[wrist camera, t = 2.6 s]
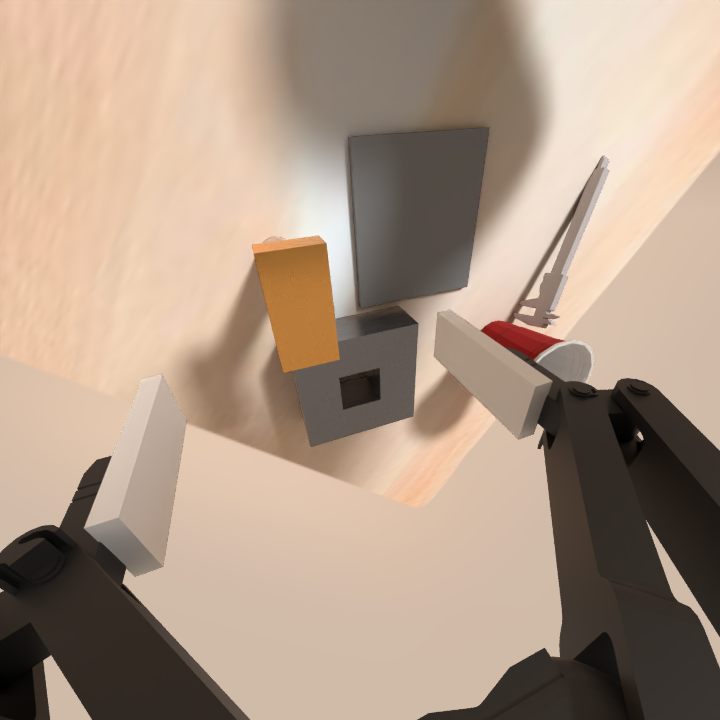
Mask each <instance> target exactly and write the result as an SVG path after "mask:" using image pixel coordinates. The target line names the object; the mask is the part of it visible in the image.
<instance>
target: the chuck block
mask: <svg viewBox="0 0 720 720" xmlns="http://www.w3.org/2000/svg"><path fill="white" fill-rule="evenodd" d="M335 322H336V331H337V339H338V348H339V357H340V360H336V361H332V362H328V363H324V364H319V365H315V366H311V367H307V368H303V369H298V370H294V371H293V375H294V380H295V384H296V388H297V393H298V397H299V402H300V406H301V411H302V415H303V419H304V423H305V427H306V431H307V435H308V438H309V442H310V446H311V447H312V446H316V445H319V444H322V443H326V442H329V441H332V440H336V439H339V438H342V437H346V436H349V435H352V434H356V433H359V432H363V431H366V430H369V429H373V428H376V427H379V426H383V425H386V424H389V423H393V422H396V421H399V420H403V419H406V418H409V417H413V414H414V395H415V375H416V356H417V337H418V323H417V322H416V321H415V320H414V319H413V318H412V317H410V316H409V315H408V314H407V313H406V312H405V311H404V310H403V309H402V308H401V307H400V306H396V307H391V308H386V309H381V310H376V311H372V312H367V313H362V314H357V315H352V316H347V317H342V318H338V319H335ZM365 371H367V376H366V377H362V378H359V379H355V380H351V381H347V382H343V383H340V380H339V378H341V377H345V376H349V375H353V374H357V373H361V372H365Z"/></svg>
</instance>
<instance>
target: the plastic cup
mask: <svg viewBox="0 0 720 720" xmlns="http://www.w3.org/2000/svg"><path fill="white" fill-rule="evenodd" d="M481 332H483V333H484V334H486V335H487V336H489V337H490V338H492V339H493V340H494V341H496V342H497V343H499V344H500V345H502V346H503V347H504V348H512V349H515V350H517V351H520V352H522V353H523V354H525V355H526V356H528V357H529V358H530V359H532V360H534V361H535V362H537V364H538V365H539V364H540V365H541V366H543V367H544V368H546V369H547V370H548V371H550V372H551V373H553V374H554V375H556V376H557V377H559V378H560V379H562V380H563V381H565V382H567V381H579V382H583V383H586V382H587V381H588V380H589V377H590V374H591V371H592V368H593V365H594V357H593V351H592V349H591V348H590V347H589V346H588V344H587V343H585V342H580V341H575V340H568V341H564V340H560V339H555V338H552V337H549V336H546V335H543V334H541V333H538V332H535V331H532V330H529V329H526V328H523V327H519V326H516V325H514V324H511V323H508V322H504V321H495V322H491V323H490V324H488V325H487V326H485V327H484V328H483V329H482V331H481Z"/></svg>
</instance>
